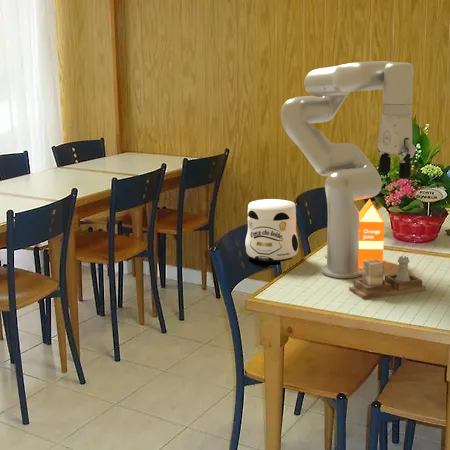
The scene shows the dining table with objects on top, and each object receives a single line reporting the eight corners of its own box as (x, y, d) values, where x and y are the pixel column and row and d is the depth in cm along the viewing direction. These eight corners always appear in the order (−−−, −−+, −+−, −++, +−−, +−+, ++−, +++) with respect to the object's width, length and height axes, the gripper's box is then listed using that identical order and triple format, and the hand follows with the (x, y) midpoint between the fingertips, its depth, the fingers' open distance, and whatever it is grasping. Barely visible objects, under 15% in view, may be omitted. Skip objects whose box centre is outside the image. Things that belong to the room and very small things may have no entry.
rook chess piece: (408, 281, 208) (409, 254, 206) (412, 286, 203) (414, 259, 201) (392, 282, 208) (393, 255, 206) (396, 287, 203) (398, 260, 201)
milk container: (254, 268, 226) (254, 212, 221) (238, 253, 242) (238, 200, 237) (306, 263, 230) (307, 207, 225) (287, 248, 246) (287, 196, 242)
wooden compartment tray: (349, 290, 204) (349, 259, 202) (409, 281, 211) (411, 252, 209) (363, 299, 197) (364, 267, 195) (426, 290, 204) (427, 259, 201)
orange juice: (379, 259, 232) (382, 198, 227) (382, 267, 224) (385, 204, 219) (355, 259, 233) (356, 198, 228) (357, 267, 225) (359, 204, 220)
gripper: (367, 108, 197) (365, 170, 202) (403, 114, 181) (400, 181, 186) (391, 107, 200) (389, 168, 204) (428, 112, 184) (425, 179, 188)
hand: (394, 174), depth 195 cm, fingers open, 9 cm apart
